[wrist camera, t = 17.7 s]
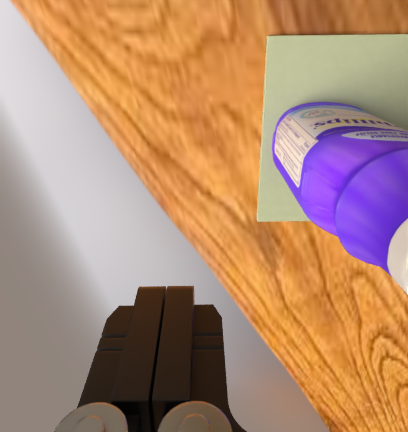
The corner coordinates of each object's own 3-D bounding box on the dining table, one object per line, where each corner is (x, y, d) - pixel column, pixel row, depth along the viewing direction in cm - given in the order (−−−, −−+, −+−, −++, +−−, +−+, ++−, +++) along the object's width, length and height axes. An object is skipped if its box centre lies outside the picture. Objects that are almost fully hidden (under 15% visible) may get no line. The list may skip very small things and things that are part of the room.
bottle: (373, 100, 27) (615, 189, 11) (356, 175, 29) (535, 334, 14) (272, 97, 27) (373, 182, 11) (264, 172, 29) (338, 330, 13)
